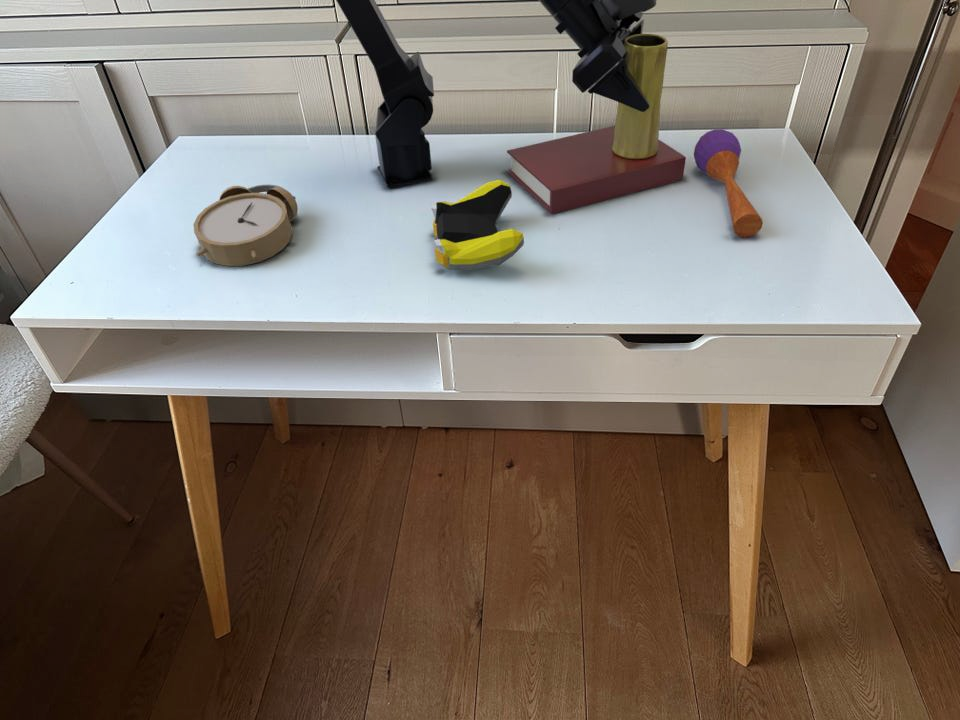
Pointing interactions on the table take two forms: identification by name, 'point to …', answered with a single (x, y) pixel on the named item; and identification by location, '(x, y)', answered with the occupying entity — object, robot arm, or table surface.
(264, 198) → the alarm clock
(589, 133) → the book
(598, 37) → the robot arm
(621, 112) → the vase
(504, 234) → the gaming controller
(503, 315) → the table surface
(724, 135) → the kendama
